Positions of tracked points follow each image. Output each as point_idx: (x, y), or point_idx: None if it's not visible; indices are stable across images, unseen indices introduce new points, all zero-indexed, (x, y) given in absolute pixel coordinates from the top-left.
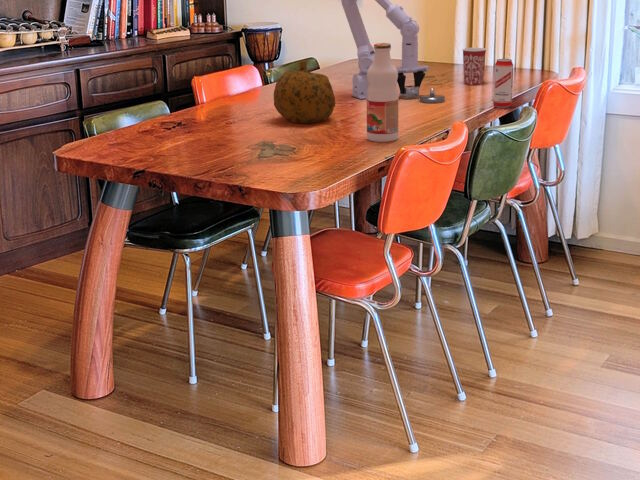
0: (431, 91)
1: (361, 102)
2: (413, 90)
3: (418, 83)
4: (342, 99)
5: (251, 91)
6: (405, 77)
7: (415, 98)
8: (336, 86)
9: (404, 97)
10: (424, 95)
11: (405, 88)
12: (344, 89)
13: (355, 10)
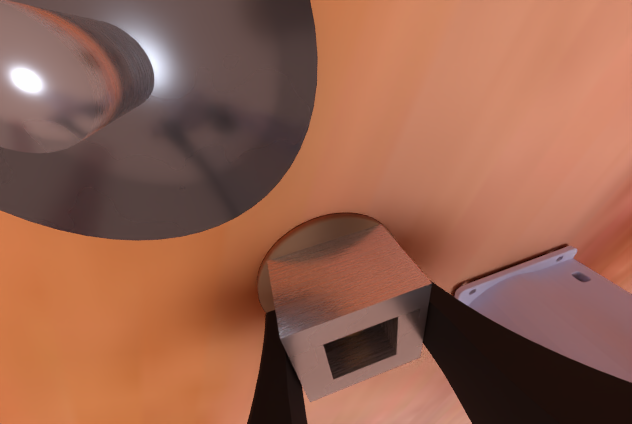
0: (70, 18)
1: (628, 171)
2: (339, 287)
3: (287, 395)
4: (606, 253)
5: None
6: (567, 420)
7: (305, 224)
8: (460, 409)
9: None
10: (229, 198)
11: (425, 293)
12: None
13: None
